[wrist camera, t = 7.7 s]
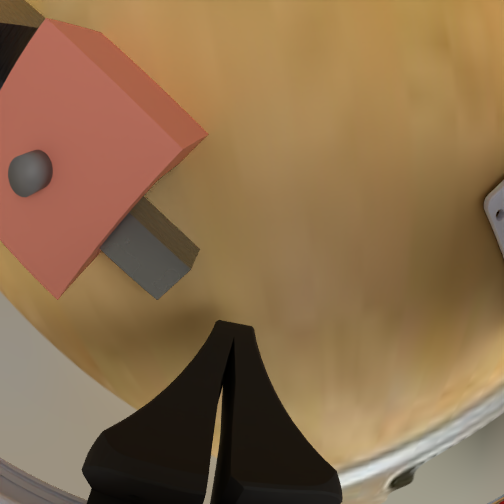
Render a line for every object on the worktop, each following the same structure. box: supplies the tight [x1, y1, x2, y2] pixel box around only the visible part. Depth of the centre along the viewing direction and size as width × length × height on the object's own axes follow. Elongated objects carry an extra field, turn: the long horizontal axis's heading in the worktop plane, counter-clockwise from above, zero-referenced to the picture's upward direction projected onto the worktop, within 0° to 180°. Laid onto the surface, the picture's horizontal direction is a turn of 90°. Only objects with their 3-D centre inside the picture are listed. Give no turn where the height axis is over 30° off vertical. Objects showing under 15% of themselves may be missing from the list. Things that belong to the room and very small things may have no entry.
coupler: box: [0, 0, 200, 300], centre depth 8 cm, size 14×7×6 cm, turn 44°
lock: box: [0, 18, 208, 300], centre depth 9 cm, size 6×7×4 cm
